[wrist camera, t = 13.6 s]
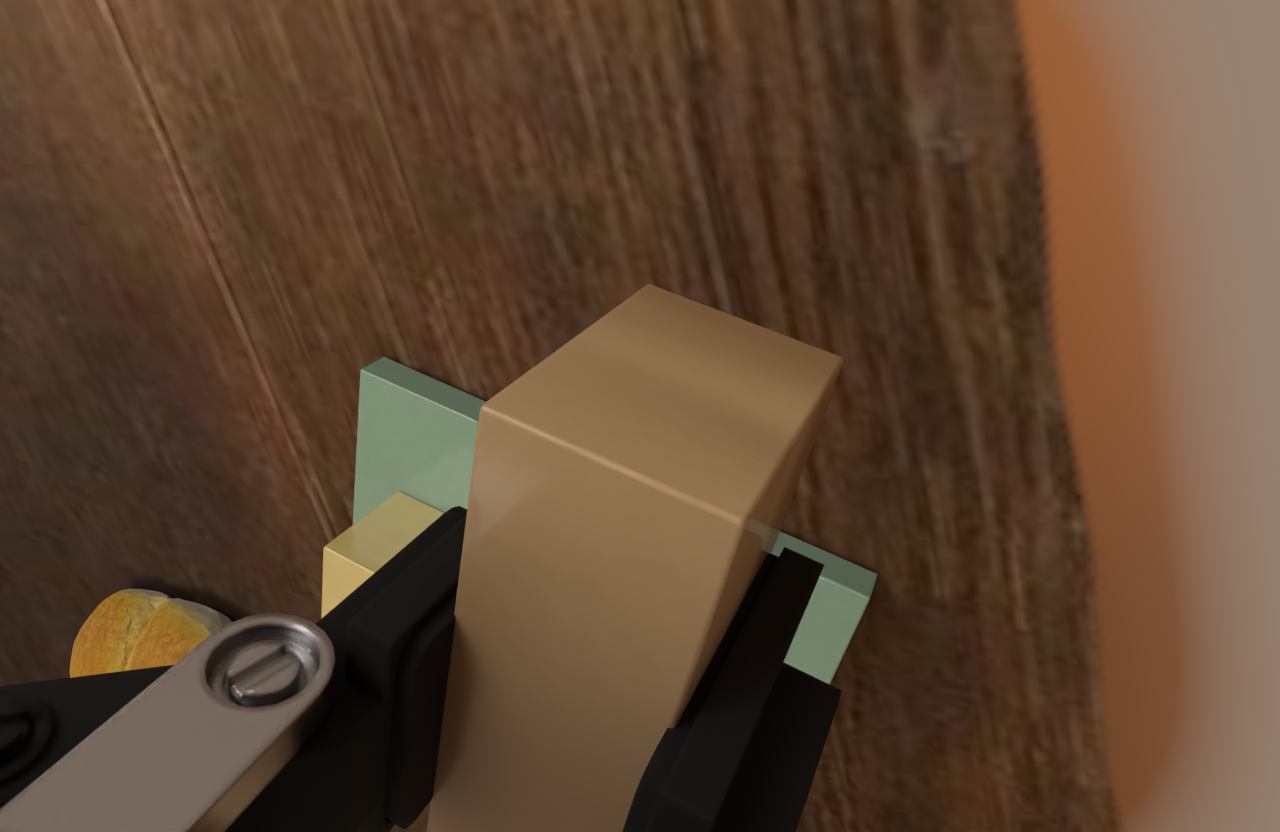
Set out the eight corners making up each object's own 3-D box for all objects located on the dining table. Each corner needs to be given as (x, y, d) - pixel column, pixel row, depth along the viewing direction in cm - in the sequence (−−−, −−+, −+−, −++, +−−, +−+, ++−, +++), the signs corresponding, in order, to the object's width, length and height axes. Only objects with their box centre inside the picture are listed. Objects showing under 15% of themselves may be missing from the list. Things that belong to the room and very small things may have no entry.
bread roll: (99, 566, 35) (-3, 626, 31) (265, 603, 31) (170, 676, 28) (165, 726, 38) (79, 796, 35) (322, 778, 34) (243, 862, 31)
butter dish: (384, 355, 24) (274, 415, 20) (878, 573, 20) (841, 687, 17) (367, 618, 29) (276, 700, 26) (759, 829, 25) (712, 954, 22)
